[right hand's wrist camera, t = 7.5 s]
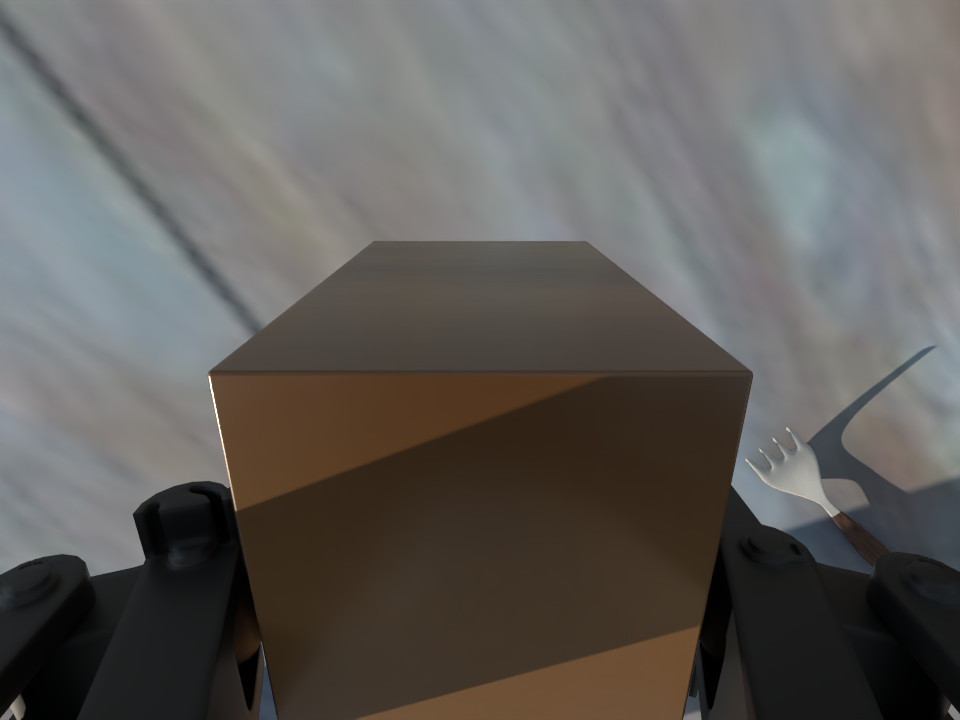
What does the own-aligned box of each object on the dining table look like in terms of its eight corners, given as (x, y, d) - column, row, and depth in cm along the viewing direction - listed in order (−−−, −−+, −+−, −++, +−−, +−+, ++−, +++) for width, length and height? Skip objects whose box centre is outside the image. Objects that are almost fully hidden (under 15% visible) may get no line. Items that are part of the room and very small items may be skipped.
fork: (902, 616, 29) (932, 648, 27) (722, 440, 25) (742, 463, 23) (946, 589, 28) (979, 620, 26) (768, 404, 24) (793, 424, 22)
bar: (372, 241, 13) (203, 372, 5) (587, 240, 13) (755, 372, 5) (413, 797, 22) (372, 1190, 13) (546, 798, 22) (587, 1189, 13)
